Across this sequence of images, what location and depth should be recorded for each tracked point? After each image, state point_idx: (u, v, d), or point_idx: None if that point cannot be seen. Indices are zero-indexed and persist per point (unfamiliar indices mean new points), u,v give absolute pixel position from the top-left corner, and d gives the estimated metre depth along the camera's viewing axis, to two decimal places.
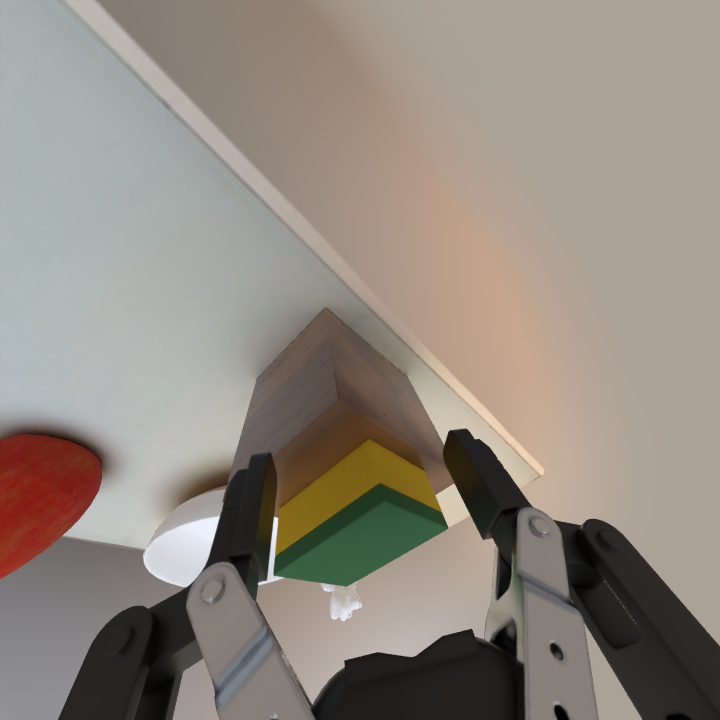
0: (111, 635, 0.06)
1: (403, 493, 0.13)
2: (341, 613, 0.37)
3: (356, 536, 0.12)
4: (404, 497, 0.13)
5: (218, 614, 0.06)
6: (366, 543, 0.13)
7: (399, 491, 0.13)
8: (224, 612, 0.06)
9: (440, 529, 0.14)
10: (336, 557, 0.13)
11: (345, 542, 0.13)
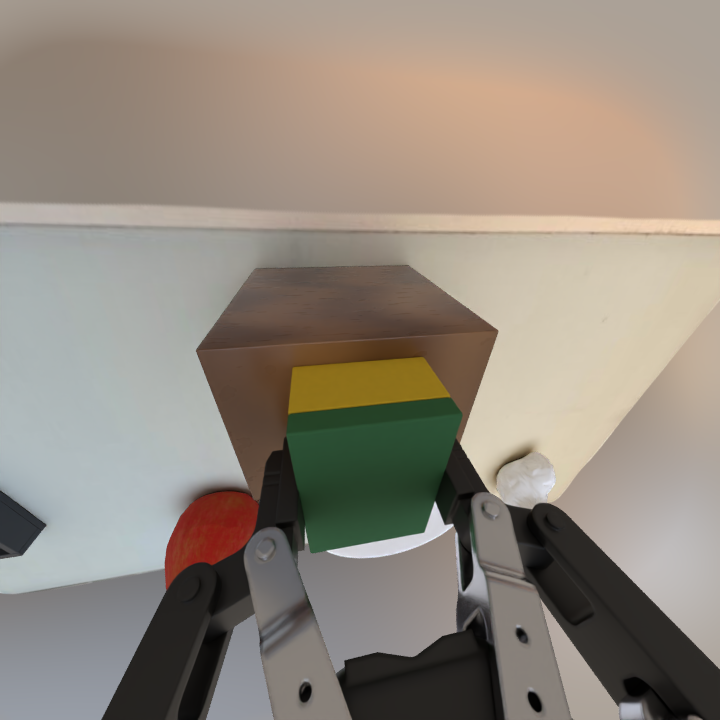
0: (184, 583, 0.07)
1: (347, 406, 0.08)
2: None
3: (329, 486, 0.09)
4: (345, 411, 0.08)
5: (273, 570, 0.07)
6: (360, 487, 0.09)
7: (336, 408, 0.08)
8: (273, 572, 0.07)
9: (450, 422, 0.08)
10: (349, 514, 0.10)
11: (329, 498, 0.09)
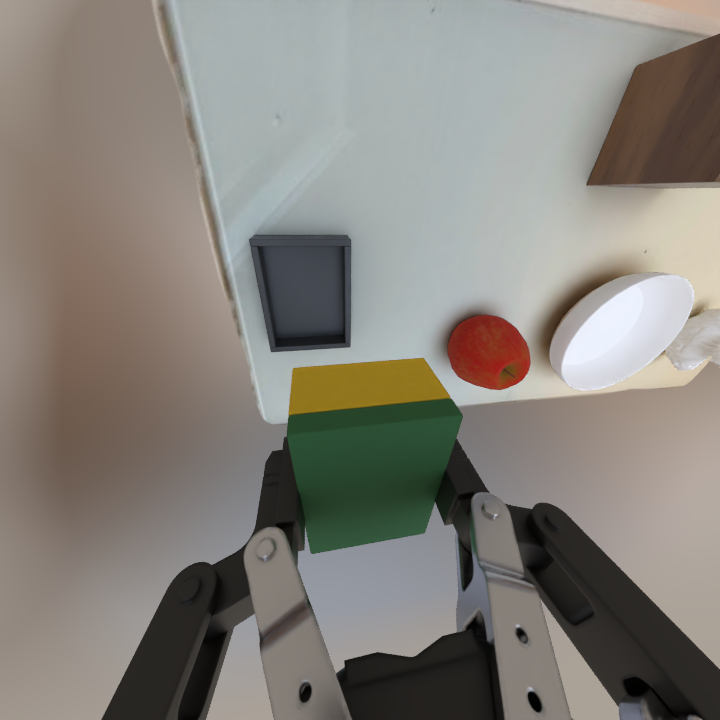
0: (184, 583, 0.07)
1: (347, 407, 0.08)
2: None
3: (330, 487, 0.09)
4: (345, 413, 0.08)
5: (273, 569, 0.07)
6: (360, 488, 0.09)
7: (336, 409, 0.08)
8: (273, 572, 0.07)
9: (450, 424, 0.08)
10: (349, 515, 0.10)
11: (330, 499, 0.09)
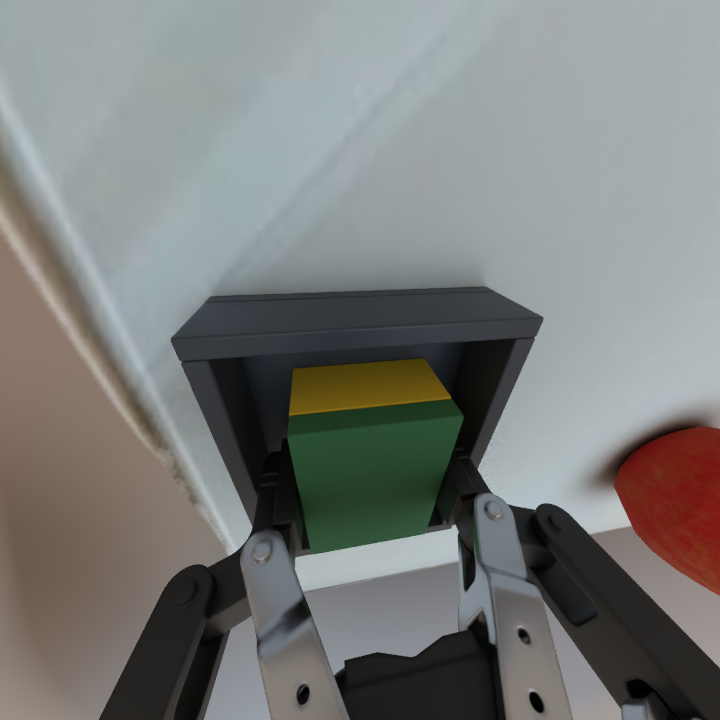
0: (180, 585, 0.06)
1: (348, 408, 0.08)
2: None
3: (330, 487, 0.09)
4: (346, 413, 0.08)
5: (270, 572, 0.07)
6: (360, 488, 0.09)
7: (336, 409, 0.08)
8: (270, 574, 0.07)
9: (450, 424, 0.08)
10: (350, 515, 0.10)
11: (330, 499, 0.09)
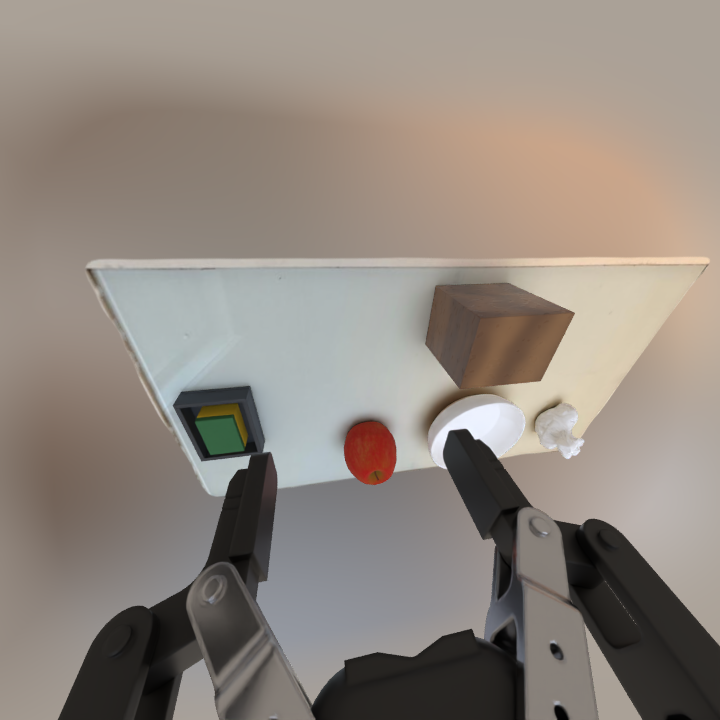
0: (111, 635, 0.06)
1: (209, 416, 0.40)
2: (570, 450, 0.51)
3: (207, 433, 0.41)
4: (208, 417, 0.40)
5: (217, 614, 0.06)
6: (215, 434, 0.41)
7: (207, 416, 0.40)
8: (224, 612, 0.06)
9: (230, 419, 0.40)
10: (216, 442, 0.42)
11: (209, 437, 0.41)
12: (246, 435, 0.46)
